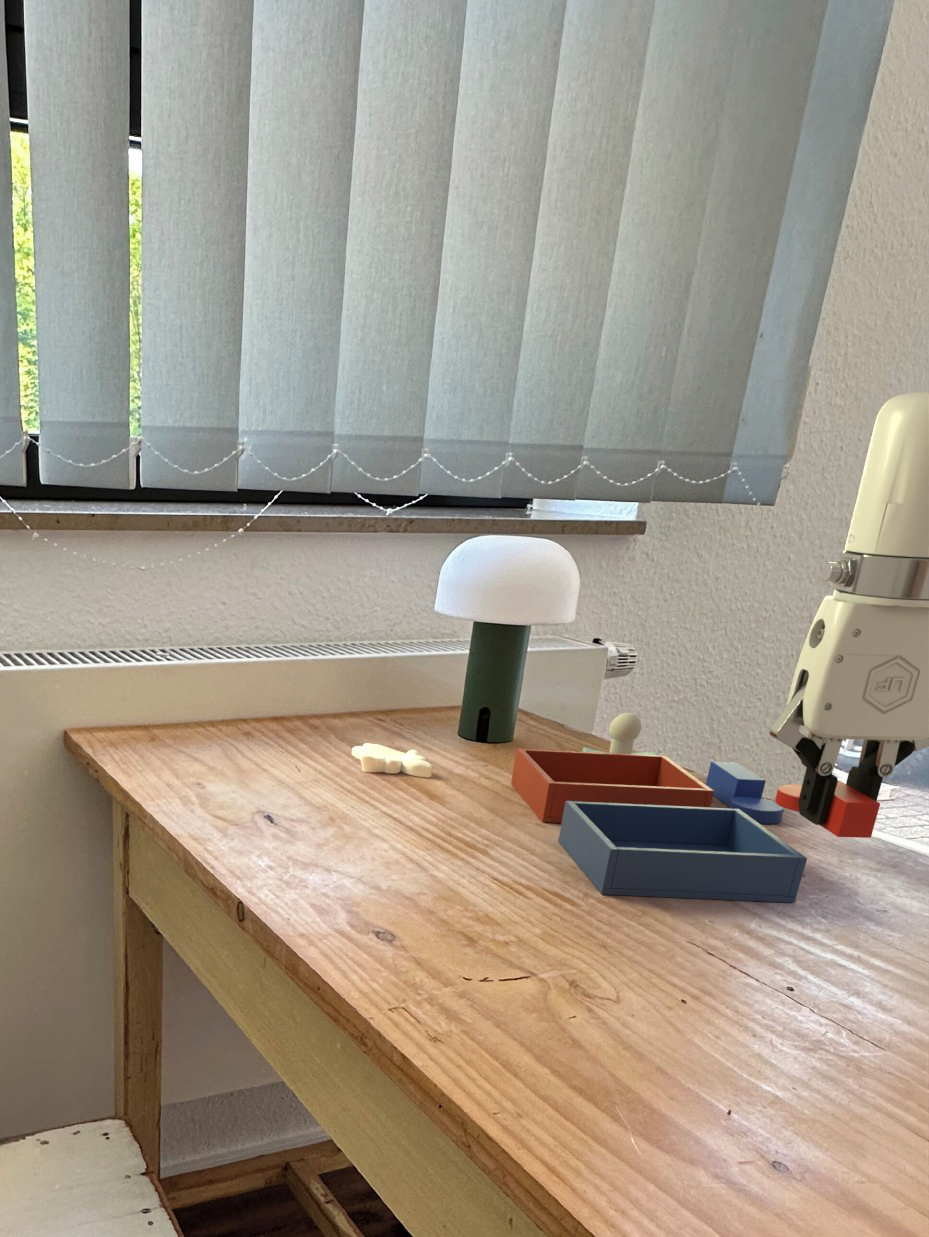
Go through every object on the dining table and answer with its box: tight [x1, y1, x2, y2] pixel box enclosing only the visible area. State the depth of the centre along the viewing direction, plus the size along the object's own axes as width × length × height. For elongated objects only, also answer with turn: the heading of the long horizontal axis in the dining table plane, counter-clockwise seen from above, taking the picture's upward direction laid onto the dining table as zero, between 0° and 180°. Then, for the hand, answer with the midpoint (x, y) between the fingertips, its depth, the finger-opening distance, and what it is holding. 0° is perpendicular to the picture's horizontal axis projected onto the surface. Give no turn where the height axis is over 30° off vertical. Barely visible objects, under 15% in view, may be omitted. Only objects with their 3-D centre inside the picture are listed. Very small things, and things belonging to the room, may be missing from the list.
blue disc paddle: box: [705, 760, 785, 825], centre depth 99 cm, size 10×4×3 cm, turn 0°
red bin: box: [510, 748, 714, 824], centre depth 96 cm, size 14×11×4 cm
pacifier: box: [582, 712, 660, 756], centre depth 107 cm, size 7×6×6 cm
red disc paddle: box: [774, 780, 881, 839], centre depth 87 cm, size 10×4×3 cm, turn 0°
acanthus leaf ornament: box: [351, 742, 434, 779], centre depth 105 cm, size 8×7×2 cm
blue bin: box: [557, 801, 808, 904], centre depth 82 cm, size 14×11×4 cm
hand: (832, 818), depth 85 cm, fingers closed on red disc paddle, 2 cm apart
